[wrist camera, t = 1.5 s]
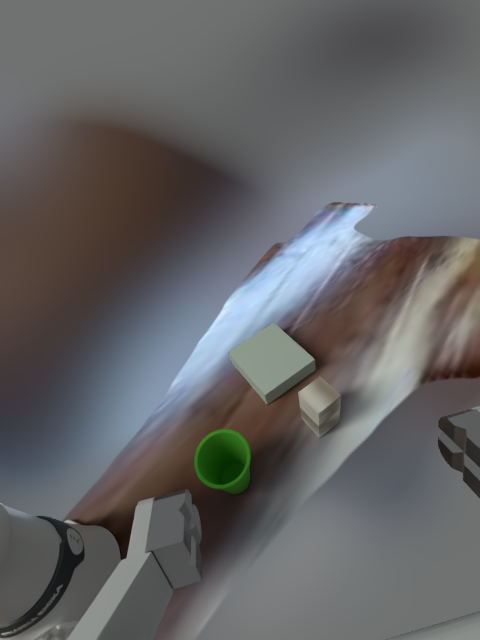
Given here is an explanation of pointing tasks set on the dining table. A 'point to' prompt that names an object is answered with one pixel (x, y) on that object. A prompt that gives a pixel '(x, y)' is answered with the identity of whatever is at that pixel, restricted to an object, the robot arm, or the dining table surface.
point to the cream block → (320, 406)
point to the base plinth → (272, 362)
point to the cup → (224, 461)
